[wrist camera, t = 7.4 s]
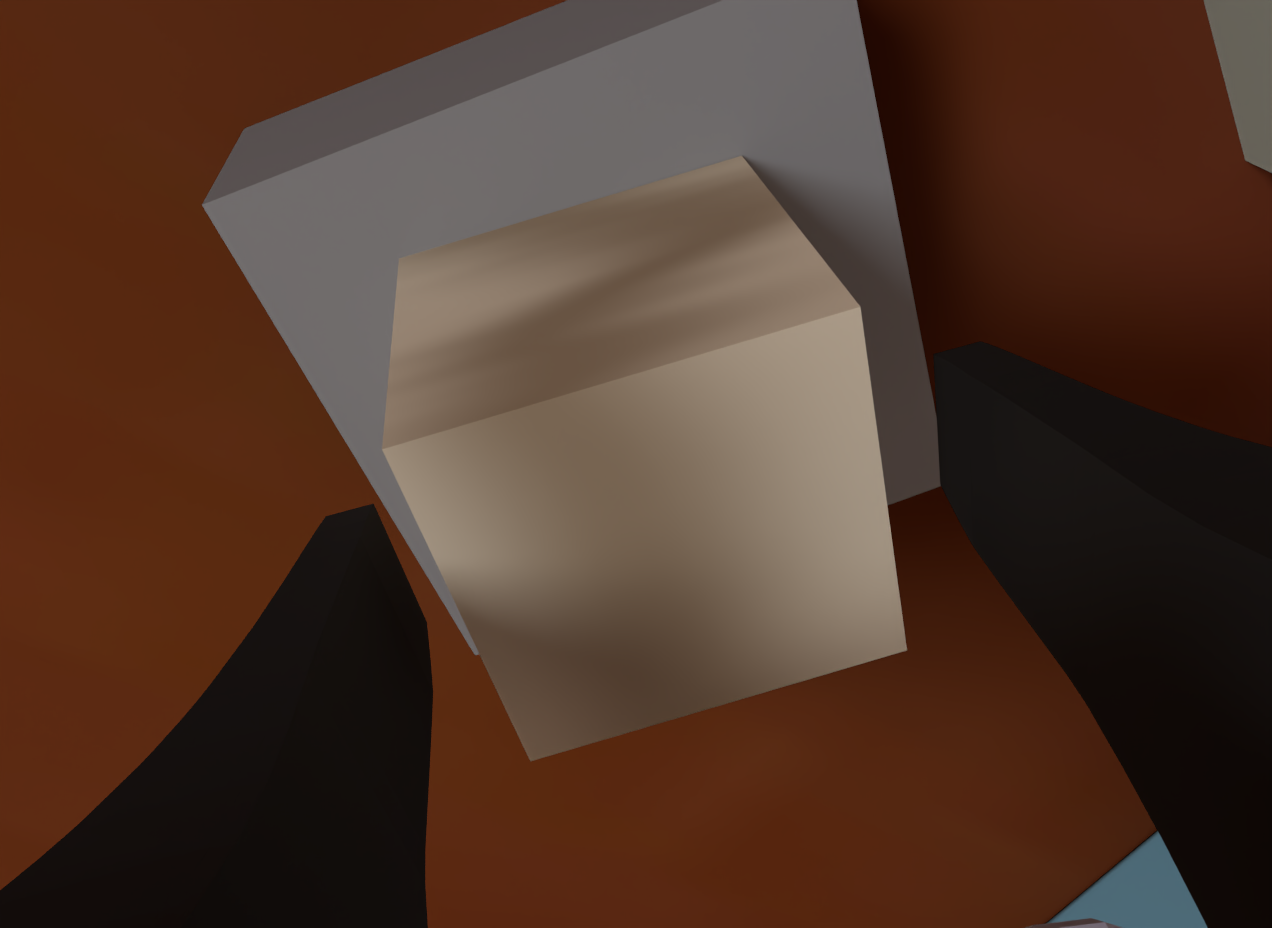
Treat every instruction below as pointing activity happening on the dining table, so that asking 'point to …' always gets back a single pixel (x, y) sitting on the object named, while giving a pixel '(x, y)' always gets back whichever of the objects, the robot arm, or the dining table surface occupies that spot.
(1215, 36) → the sage block
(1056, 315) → the dining table surface
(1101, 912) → the data package
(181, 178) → the dining table surface
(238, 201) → the base block
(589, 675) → the maple cube
